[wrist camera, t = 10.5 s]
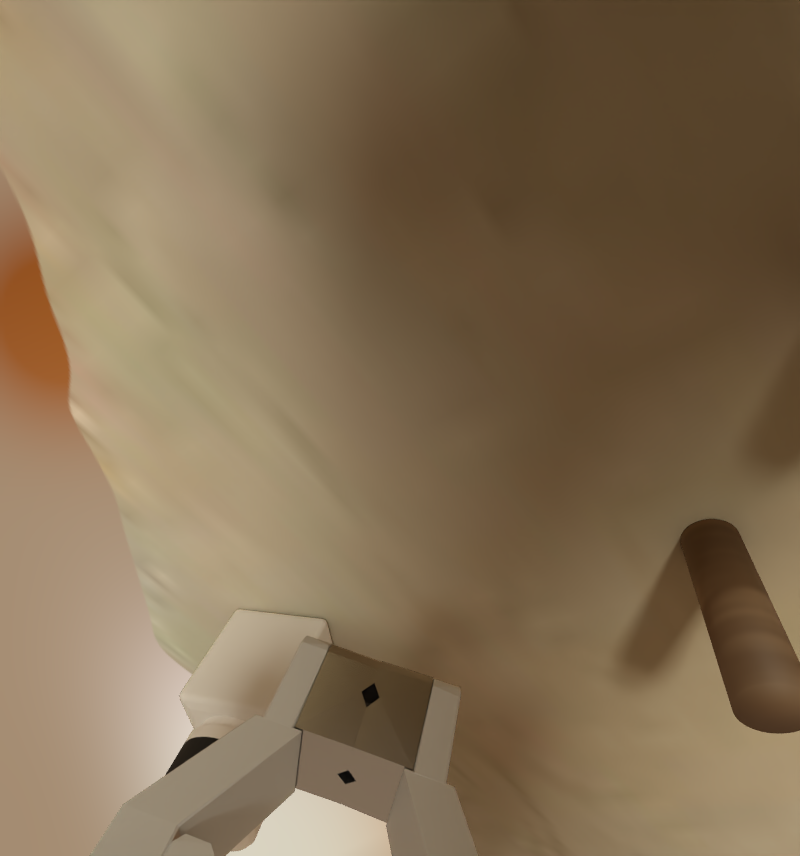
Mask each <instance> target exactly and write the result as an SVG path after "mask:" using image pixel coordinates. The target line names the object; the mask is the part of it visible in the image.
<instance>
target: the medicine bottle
mask: <svg viewBox="0 0 800 856" xmlns="http://www.w3.org/2000/svg"><path fill="white" fill-rule="evenodd" d="M306 635H307V636H310V637H313V638H316V639H319V640H322V641H325V642H328V643H331V644H333V643H332V639H331V636H330V632H329V628H328V624H327V622H326V620H325V619H319V618H311V617H302V616H294V615H285V614H277V613H268V612H260V611H251V610H243V609H237V610H236V611H235V612H234V613H233V615H232V616H231V618H230V619H229V621H228V622H227V624H226V625H225V627H224V628H223V630H222V631H221V633H220V634H219V636H218V637H217V639H216V640H215V642H214V643H213V645H212V646H211V648H210V649H209V651H208V652H207V654H206V655H205V657H204V658H203V660H202V661H201V663H200V664H199V666H198V667H197V669H196V670H195V672H194V673H193V675H192V676H191V678H190V679H189V681H188V682H187V684H186V685H185V687H184V688H183V690H182V691H181V693H180V695H179V697H180V700H181V702H182V705H183V707H184V709H185V711H186V713H187V715H188V717H189V719H190V722H191V724H192V726H193V728H194V730H193V731H192V732H191V734H190V735H189V737H188V739H187V740H186V742H185V744H184V745H183V747H182V748H181V750H180V752H179V753H178V755H177V757H176V759H175V760H174V762H173V763H172V765H171V767H170V768H169V770H168V772H167V773H166V775H167V774H168V773H170V772H171V771H173V770H174V769H176V768H177V767H179V766H180V765H182V764H183V763H185V762H186V761H187V760H189V759H190V758H192V757H193V756H195V755H196V754H198V753H199V752H201V751H202V750H204V749H205V748H207V747H208V746H210V745H211V744H212V743H214V742H215V741H217V740H218V739H220V738H221V737H223V736H224V735H226V734H227V733H229V732H230V731H232V730H233V729H235V728H236V727H237V726H239V725H240V724H242V723H243V722H245V721H246V720H248V719H249V718H251V717H252V716H254V715H255V714H257V715H260V716H264V714H265V712H266V710H267V708H268V706H269V704H270V702H271V700H272V698H273V696H274V694H275V692H276V690H277V689H278V687H279V685H280V683H281V681H282V679H283V677H284V675H285V673H286V671H287V669H288V667H289V665H290V663H291V661H292V659H293V657H294V655H295V653H296V651H297V649H298V647H299V645H300V643H301V642H302V640H303V639H304V638H305V637H306ZM262 822H263V821H262ZM262 822H261V823H260V824H259V825H258V826H257V827H256V828H255V829H254V830H253V831H251V832H250V833H249V834H248V835H247V836H246V837H245V838H244V839H243V840H242V841H241V842H240V843H239V844H237V845H236V846H235V847H234V848H233V849H232V850H231V851H239V850H242V849H244V848H246V847H247V846H249V845H250V844H252V843H253V842H254V840H255V838H256V836H257V833H258V831H259V829H260V826H261V824H262Z"/></svg>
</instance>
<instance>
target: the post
mask: <svg viewBox="0 0 800 856" xmlns="http://www.w3.org/2000/svg"><path fill="white" fill-rule="evenodd" d="M681 546H682V550H683V553H684V556H685V559H686V562H687V566H688V569H689V572H690V575H691V579H692V582H693V585H694V588H695V591H696V595H697V598H698V601H699V604H700V607H701V611H702V614H703V617H704V620H705V624H706V627H707V630H708V633H709V636H710V640H711V643H712V646H713V649H714V652H715V656H716V659H717V662H718V665H719V668H720V672H721V675H722V678H723V681H724V685H725V688H726V691H727V694H728V697H729V701H730V704H731V707H732V710H733V713H734V715H735V717H736V718H737V719H738V720H739V721H740V722H741V723H743V724H744V725H746V726H748V727H750V728H752V729H755V730H758V731H762V732H767V733H791V732H796V731H800V662H799V660H798V658H797V656H796V654H795V652H794V649H793V647H792V645H791V643H790V641H789V639H788V637H787V634H786V632H785V630H784V628H783V626H782V624H781V622H780V619H779V617H778V615H777V613H776V611H775V609H774V607H773V604H772V602H771V600H770V598H769V596H768V594H767V592H766V589H765V587H764V585H763V583H762V581H761V579H760V577H759V574H758V572H757V570H756V568H755V566H754V564H753V562H752V559H751V557H750V555H749V553H748V551H747V549H746V547H745V544H744V542H743V540H742V538H741V536H740V534H739V532H738V530H737V529H736V528H735V527H734V526H733V525H731V524H730V523H728V522H725V521H722V520H717V519H706V520H701V521H698V522H695V523H693V524H691V525H690V526H689V527H687V528H686V529H685V530H684V532H683V533H682V536H681Z"/></svg>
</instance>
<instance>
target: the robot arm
mask: <svg viewBox="0 0 800 856" xmlns="http://www.w3.org/2000/svg"><path fill="white" fill-rule="evenodd" d="M460 698H461V689H460V687H459V686H456V685H452V684H449V683H446V682H443V681H440V680H437V679H433V677H430V676H427V675H424V674H421V673H418V672H415V671H412V670H408V669H405V668H402V667H399V666H396V665H393V664H390V663H386V662H383V661H382V662H381V661H378V660H375V659H372V658H370V657H367V656H364V655H361V654H358V653H355V652H353V651H350V650H347V649H344V648H341V647H338V646H335V645H333V644H331V643H328V642H325V641H322V640H319V639H316V638H313V637H310V636H307V635H306V637H305V638H304V639H303V640H302V642H301V643H300V645H299V647H298V649H297V651H296V653H295V655H294V657H293V659H292V661H291V663H290V665H289V667H288V669H287V671H286V673H285V675H284V677H283V679H282V681H281V683H280V685H279V687H278V689H277V690H276V692H275V694H274V696H273V698H272V700H271V702H270V704H269V706H268V708H267V710H266V712H265V714H264V716H260V715H257V714H255V715H254V716H252V717H251V718H249V719H248V720H246V721H245V722H243V723H242V724H240V725H239V726H237V727H236V728H235V729H233V730H232V731H230V732H229V733H227V734H226V735H224V736H223V737H221V738H220V739H218V740H217V741H215V742H214V743H212V744H211V745H210V746H208V747H207V748H205V749H204V750H202V751H201V752H199V753H198V754H196V755H195V756H193V757H192V758H190V759H189V760H187V761H186V762H185V763H183V764H182V765H180V766H179V767H177V768H176V769H174V770H173V771H171V772H170V773H168V774H167V775H165V776H164V777H162V778H161V779H160V780H158V781H157V782H155V783H154V784H152V785H151V786H149V787H148V788H146V789H145V790H143V791H142V792H140V793H139V794H137V795H136V796H135V797H133V798H132V799H130V800H129V801H127V802H126V803H124V804H123V805H122V807H121V808H120V810H119V812H118V813H117V815H116V816H115V818H114V819H113V821H112V822H111V824H110V825H109V827H108V828H107V830H106V831H105V833H104V834H103V836H102V837H101V839H100V840H99V842H98V844H97V845H96V847H95V848H94V850H93V851H92V853H91V854H90V856H226V854H228V853H229V852H230V851H231V850H232V849H233V848H234V847H235V846H236V845H237V844H239V843H240V842H241V841H242V840H243V839H244V838H245V837H246V836H247V835H248V834H249V833H250V832H251V831H253V830H254V829H255V828H256V827H257V826H258V825H259V824H260V823H261V822H262V821H263V820H264V819H265V818H267V817H268V816H269V815H270V814H271V813H272V812H273V811H274V810H275V809H276V808H277V807H278V806H279V805H281V804H282V803H283V802H284V801H285V800H286V799H287V798H288V797H289V796H290V795H291V794H292V793H293V792H294V791H295V788H297V789H300V790H303V791H306V792H309V793H312V794H314V795H317V796H320V797H323V798H326V799H329V800H332V801H334V802H337V803H340V804H343V805H345V806H348V807H350V808H352V809H355V810H357V811H360V812H362V813H364V814H367V815H369V816H372V817H374V818H377V819H379V820H381V821H384V822H386V823H387V825H386V827H387V832H388V837H389V842H390V848H391V853H392V856H479V855H478V853H477V850H476V847H475V844H474V841H473V838H472V835H471V832H470V829H469V826H468V823H467V821H466V818H465V815H464V812H463V809H462V806H461V803H460V800H459V797H458V794H457V792H456V789H455V787H454V786H452V785H450V784H447V777H448V771H449V765H450V759H451V753H452V747H453V741H454V734H455V728H456V722H457V716H458V710H459V704H460ZM341 802H342V803H341Z"/></svg>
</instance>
